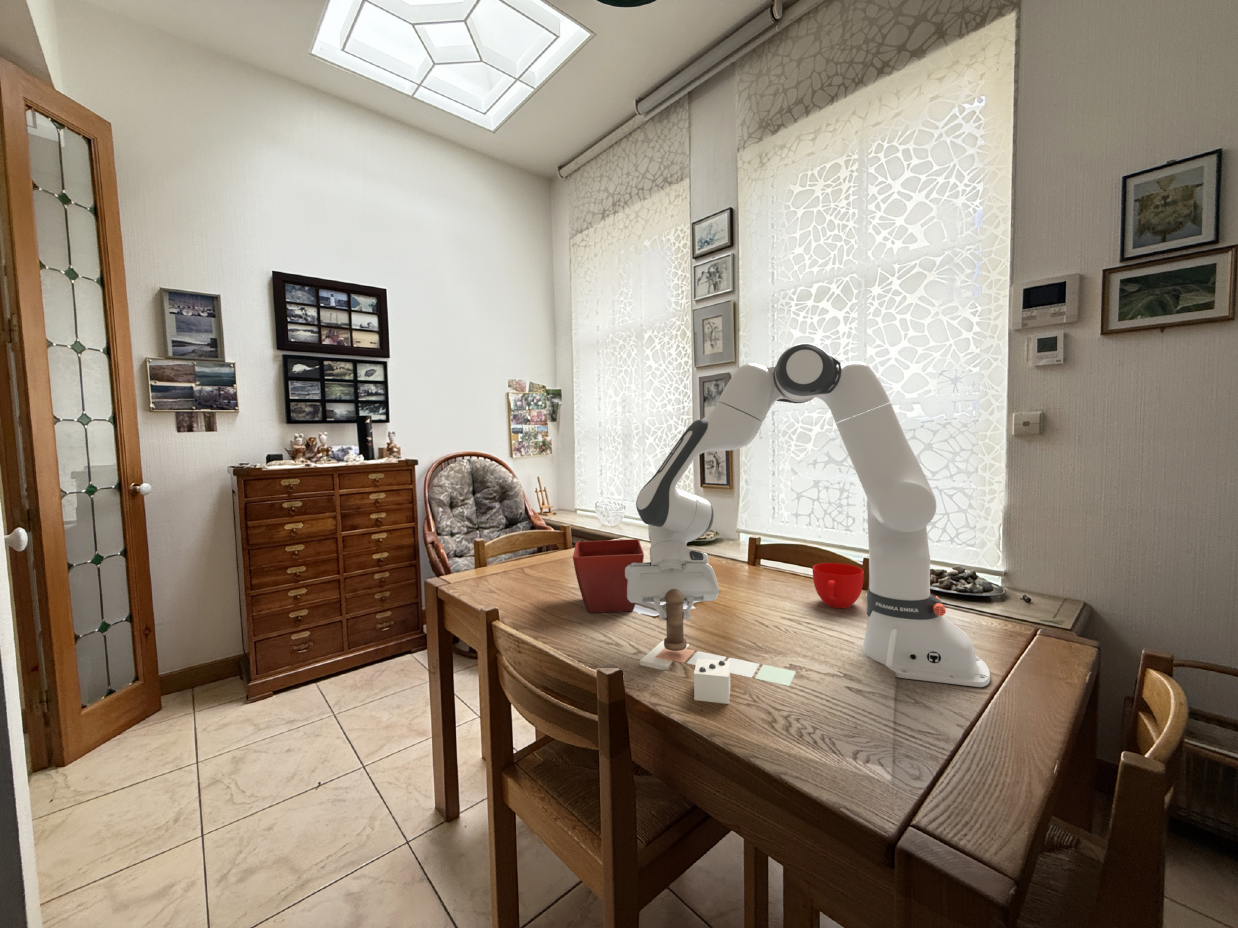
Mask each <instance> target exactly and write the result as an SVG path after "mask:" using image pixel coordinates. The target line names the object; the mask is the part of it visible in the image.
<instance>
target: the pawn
mask: <svg viewBox="0 0 1238 928" xmlns="http://www.w3.org/2000/svg"><path fill="white" fill-rule="evenodd" d="M665 601H666V602H665V610H666V612H667V613H666V614H667V620H665V621H666V637H665V638H664V639H663V640H664V647H665V648H666V649H668V650H672V651H680V650H684V649H685V648H686V646H687V645H686V644H687V639H686V638H685V637H684V620H683V609H684V602H683V601H684V597H683V594H682V592H681V591H679V590H677V589H671V590H669V591H668V592H667V593H666V595H665ZM686 649H687V648H686Z"/></svg>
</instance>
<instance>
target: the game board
mask: <svg viewBox="0 0 1238 928" xmlns="http://www.w3.org/2000/svg"><path fill="white" fill-rule="evenodd" d="M686 645H687V646H686V648H685V649H684V650H680V651H672V650H668V649H666V648H665V647H664V639H663V640H661V641H660V642H659V643H658V644H657V645H656V646H655V647H654V648H652V650H650V651H649V652H648V653H647V654H646V655H644V656H643V657H642V658H641V659H640V660H639V665H640V666H644V667H647V668H651V669H656V670H659V671H663V672H664V671H665V670H666V669H667V668H668V667H669V666H670V665H672V663H673V662H677V663H685V662H686V661H687V660H688V659H689V658H690V659H689V660H688V661H687V662H686V664H687V665H692V666H696V662H697V658H698V659H709V660H720V661H730V674H733V675H737V676H743V677H746V678H751V679H752V678H753V677H754V675H755V673H756V672H757V670H758V669H759V667H760V665H761V663H758V662H757V663H756V662H753V661H748V660H743V659H739V658H738V659H737V658H733V657H728V659H727V660H726V658H727V656H723V655H720V654H719V655H718V654H714V653H709V652H704V651H700V650H698V651H696V650H694V649H689V648H688V647H689V646H690V644H689V643H686ZM695 651H696V652H695ZM694 652H695V653H694ZM692 655H693V656H692ZM691 656H692V657H691ZM796 673H797V671H795V670H790V669H787V668H783V667H782V668H781V667H776V666H774V665H773V666H772V665H767V664H762V666H761V667H760V669H759V671H758V672H757V674H756V676H755V677H754V679H755V680H761V681H763V682H764V681H765V682H769V683H773V684H777V685H783V686H785V687H786V686H787V687H791V684H792V682H793V679H794V678H795V675H796Z"/></svg>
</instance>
